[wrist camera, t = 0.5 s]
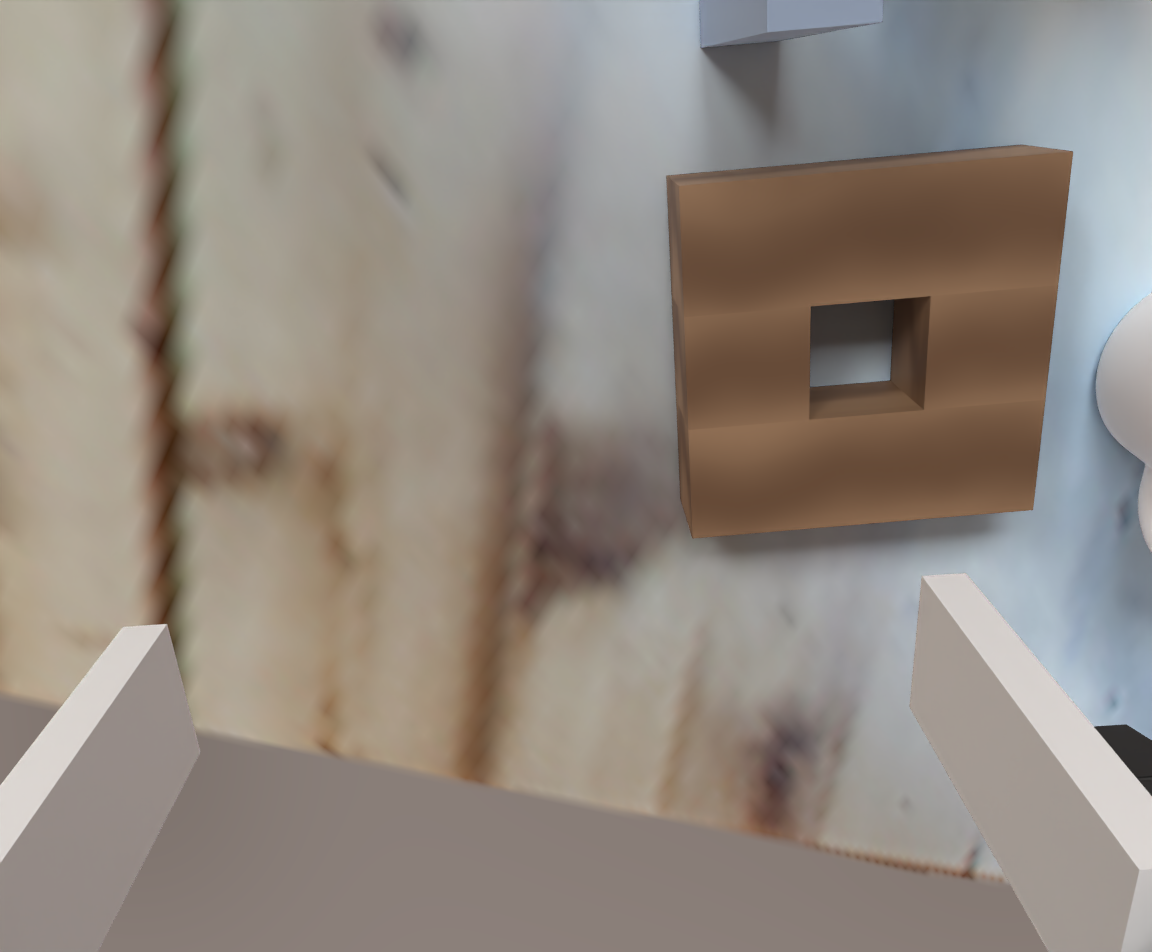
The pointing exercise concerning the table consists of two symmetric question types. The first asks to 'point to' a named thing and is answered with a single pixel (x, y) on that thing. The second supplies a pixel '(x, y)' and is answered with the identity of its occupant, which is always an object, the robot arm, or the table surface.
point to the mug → (1131, 396)
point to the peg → (780, 19)
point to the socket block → (919, 343)
